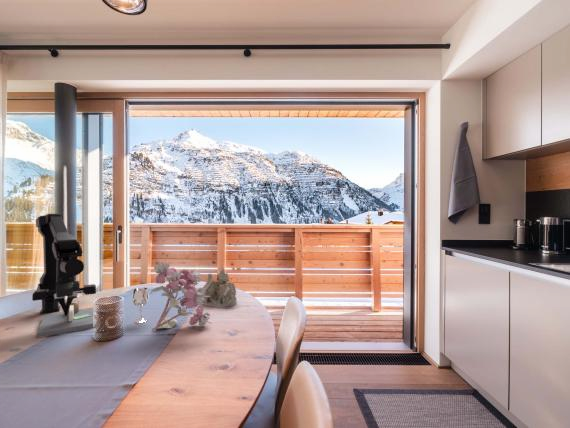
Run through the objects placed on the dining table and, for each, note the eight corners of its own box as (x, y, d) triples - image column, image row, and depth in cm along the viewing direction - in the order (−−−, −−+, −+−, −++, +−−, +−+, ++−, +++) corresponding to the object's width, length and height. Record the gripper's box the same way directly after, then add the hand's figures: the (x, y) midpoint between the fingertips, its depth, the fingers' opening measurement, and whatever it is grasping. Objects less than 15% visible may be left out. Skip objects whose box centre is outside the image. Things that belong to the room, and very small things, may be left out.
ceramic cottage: (198, 299, 145) (199, 267, 144) (233, 297, 150) (235, 266, 149) (200, 311, 130) (201, 276, 129) (239, 309, 135) (240, 274, 135)
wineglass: (142, 324, 114) (142, 291, 114) (128, 323, 115) (128, 290, 115) (152, 318, 119) (152, 287, 119) (139, 317, 120) (138, 286, 120)
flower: (165, 344, 93) (197, 265, 100) (123, 322, 104) (155, 254, 112) (208, 349, 108) (233, 281, 116) (167, 330, 120) (193, 269, 128)
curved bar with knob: (65, 311, 124) (65, 301, 124) (79, 309, 126) (78, 300, 126) (63, 323, 111) (63, 312, 111) (78, 320, 113) (78, 309, 113)
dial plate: (44, 318, 121) (44, 313, 121) (92, 311, 129) (92, 306, 129) (36, 337, 102) (36, 332, 102) (94, 327, 111) (93, 322, 111)
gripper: (29, 278, 102) (29, 326, 102) (96, 273, 112) (96, 316, 112) (35, 274, 112) (34, 318, 111) (95, 269, 122) (95, 309, 121)
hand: (65, 315), depth 114 cm, fingers closed
